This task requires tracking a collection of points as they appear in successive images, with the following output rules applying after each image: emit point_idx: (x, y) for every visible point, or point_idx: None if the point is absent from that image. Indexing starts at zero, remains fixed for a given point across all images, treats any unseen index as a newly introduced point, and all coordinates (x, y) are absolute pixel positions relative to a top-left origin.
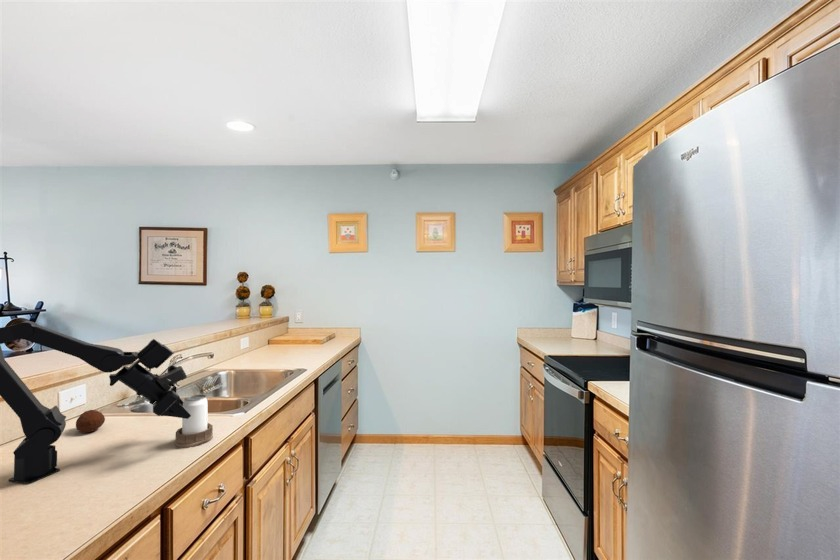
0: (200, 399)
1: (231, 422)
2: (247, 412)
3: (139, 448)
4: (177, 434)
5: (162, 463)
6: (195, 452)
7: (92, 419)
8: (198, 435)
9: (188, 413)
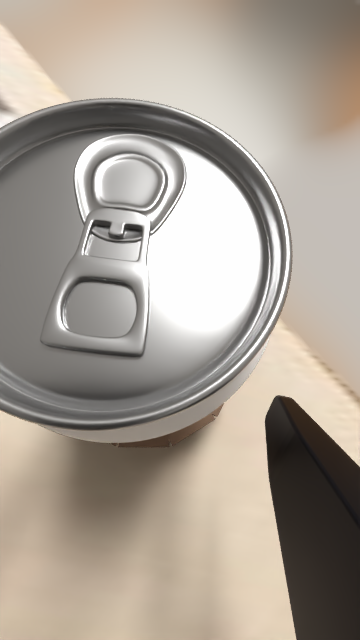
0: (276, 213)
1: None
2: (14, 107)
3: (22, 601)
4: (158, 446)
5: None
6: (294, 397)
7: None
8: None
9: (320, 427)
